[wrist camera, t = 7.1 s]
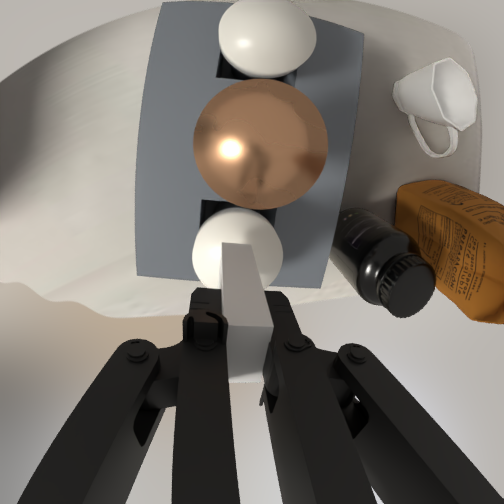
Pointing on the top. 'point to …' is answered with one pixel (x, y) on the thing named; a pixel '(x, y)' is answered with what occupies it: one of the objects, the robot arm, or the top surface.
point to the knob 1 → (265, 38)
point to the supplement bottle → (382, 262)
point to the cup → (438, 100)
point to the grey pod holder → (182, 155)
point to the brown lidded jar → (260, 144)
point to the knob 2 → (236, 231)
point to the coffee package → (458, 243)
